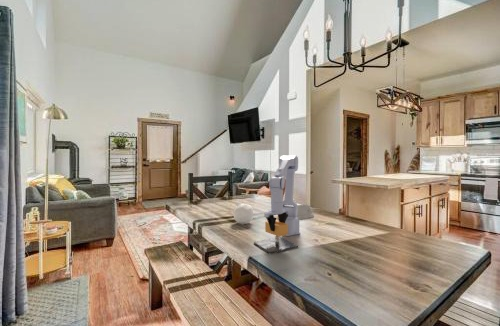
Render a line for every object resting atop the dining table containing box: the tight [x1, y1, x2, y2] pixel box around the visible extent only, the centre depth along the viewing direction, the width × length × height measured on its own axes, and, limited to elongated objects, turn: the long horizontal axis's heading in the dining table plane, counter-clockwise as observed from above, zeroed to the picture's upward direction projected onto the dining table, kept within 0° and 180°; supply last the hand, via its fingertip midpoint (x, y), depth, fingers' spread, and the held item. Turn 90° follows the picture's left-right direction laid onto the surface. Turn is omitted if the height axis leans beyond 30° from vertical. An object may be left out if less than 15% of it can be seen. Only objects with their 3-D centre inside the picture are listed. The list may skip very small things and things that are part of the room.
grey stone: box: [297, 204, 315, 220], centre depth 179 cm, size 17×5×10 cm, turn 118°
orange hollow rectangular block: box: [264, 220, 288, 237], centre depth 123 cm, size 5×10×5 cm, turn 37°
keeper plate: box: [253, 235, 299, 255], centre depth 124 cm, size 16×15×6 cm
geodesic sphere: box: [232, 202, 255, 226], centre depth 164 cm, size 14×14×14 cm
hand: (277, 229), depth 122 cm, fingers closed on orange hollow rectangular block, 5 cm apart
